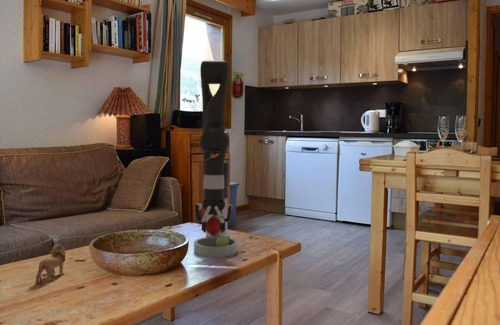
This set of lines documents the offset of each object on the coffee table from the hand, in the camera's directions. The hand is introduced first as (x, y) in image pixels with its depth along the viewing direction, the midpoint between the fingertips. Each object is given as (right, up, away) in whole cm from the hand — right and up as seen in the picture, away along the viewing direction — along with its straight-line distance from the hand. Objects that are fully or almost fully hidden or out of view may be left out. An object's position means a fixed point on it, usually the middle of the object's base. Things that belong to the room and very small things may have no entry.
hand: (213, 232), depth 160 cm
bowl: (+1, -8, +3) cm, 9 cm away
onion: (0, -2, 0) cm, 2 cm away
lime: (+3, -7, +6) cm, 10 cm away
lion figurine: (-48, -10, -27) cm, 55 cm away
